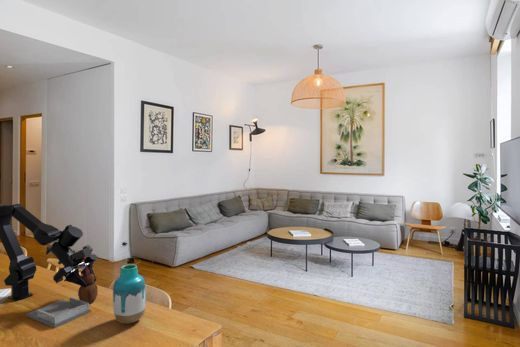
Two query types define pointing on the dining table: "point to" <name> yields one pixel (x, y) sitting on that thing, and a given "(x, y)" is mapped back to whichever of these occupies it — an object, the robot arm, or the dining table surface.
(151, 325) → the dining table surface
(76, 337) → the dining table surface
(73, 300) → the grey shallow rectangular tray
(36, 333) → the dining table surface
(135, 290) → the vase
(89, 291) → the wooden figurine
